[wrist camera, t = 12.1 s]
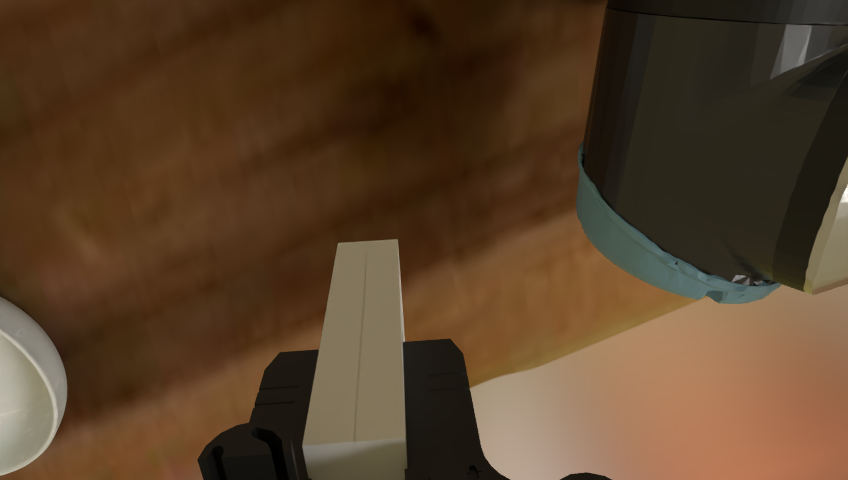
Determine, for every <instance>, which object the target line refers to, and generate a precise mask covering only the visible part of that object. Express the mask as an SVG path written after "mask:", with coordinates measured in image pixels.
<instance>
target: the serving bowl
mask: <svg viewBox="0 0 848 480" xmlns="http://www.w3.org/2000/svg"><path fill="white" fill-rule="evenodd" d="M66 400H67V379H66V374H65V369H64V366H63V363H62V360H61V358H60V355H59V353H58V351H57V349H56V347H55V346H54V344H53V343H52V341H51V339H50V338H49V337H48V335H47V334H46V333H45V331H44V330H43V329H42V328H41V327H40V326H39V325H38V324H37V323H36V322H35V321H34V320H33V319H32V318H31V317H30V316H29V315H27V314H26V313H25V312H24V311H23V310H21V309H20V308H18V307H17V306H16V305H14V304H12V303H11V302H9V301H7V300H6V299H4V298H2V297H0V476H1V475H4V474H7V473H10V472H13V471H16V470H18V469H20V468H22V467H24V466H26V465H27V464H29V463H31V462H32V461H34V460H35V459H36V458H37V457H39V456H40V455H41V454H42V453H43V452H44V451H45V450H46V448H47V447H48V446H49V444H50V443H51V441H52V440H53V438H54V436H55V434H56V432H57V429H58V427H59V425H60V423H61V420H62V417H63V414H64V411H65V406H66Z"/></svg>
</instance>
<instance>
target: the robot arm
mask: <svg viewBox="0 0 848 480" xmlns="http://www.w3.org/2000/svg"><path fill="white" fill-rule="evenodd" d="M578 166H579V171H580V173H579V181H578V190H577V198H576V210H577V216H578V219H579V220H580V222H581V224H582V228H583V230H584V232H585V234H586V236H587V238H588V239H589V240H590V242H591V243H592V244H593V245H594V246H595V247H596V248H597V249H598V250H599V252H601V253H602V254H603V255H604V256H605V257H606V258H607V259H609V260H610V261H611V262H612V263H614V264H615V265H617V266H618V267H620V268H621V269H623V270H624V271H626V272H627V273H629V274H631V275H633V276H634V277H636V278H638V279H640V280H642V281H644V282H646V283H648V284H650V285H653V286H655V287H658V288H660V289H663V290H665V291H668V292H671V293H674V294H677V295H680V296H684V297H688V298H692V299H696V300H699V299H701V298H703V297H704V296H705V295H706V296H708V297H710V298H712V299H713V300H714V301H716V302H718V303H723V304H742V303H749V302H753V301H756V300H760V299H763V298H764V297H766V296H768V295H769V294H770V293H771V292H772V291H774V290H775V289H777V288H779V287H780V286H781V285H782V284H783V285H786V286H789V287H791V288H794V289H797V290H800V291H803V292H806V293H809V294H812V295H816V294H819V293H822V292H825V291H829V290H832V289H835V288H837V287H841V286H844V285H847V284H848V0H608V2H607V7H606V8H605V14H604V20H603V26H602V32H601V38H600V44H599V50H598V56H597V62H596V68H595V74H594V80H593V86H592V92H591V98H590V104H589V110H588V116H587V122H586V128H585V134H584V140H583V142H582V143H581V144H580V146H579V152H578ZM198 463H199V466H200V470H201V473H202V476H203V479H204V480H510V479H508V478H506V477H505V476H503V475H501V474H499V473H498V472H497V471H496V470H495V469H494V468H493V467H492V466H491V465H490V464H489V462H488V461H487V460H486V458H485V457H484V454H483V451H482V448H481V444H480V439H479V433H478V428H477V423H476V418H475V413H474V408H473V402H472V397H471V392H470V388H469V382H468V377H467V371H466V366H465V361H464V356H463V353H462V352H461V351H460V350H459V348H458V347H457V346H456V345H455V344H454V343H453V341H452V340H451V339H439V340H425V341H411V342H405V338H404V320H403V306H402V292H401V278H400V264H399V250H398V239H393V240H378V241H362V242H347V243H338V246H337V252H336V257H335V263H334V269H333V274H332V280H331V286H330V291H329V297H328V303H327V308H326V314H325V320H324V325H323V331H322V337H321V342H320V348H319V350H306V351H292V352H280V353H279V354H278V355H277V356H276V358H275V359H274V360H273V361H272V362H271V363H270V364H269V366H268V367H267V368H266V369H265V371H264V375H263V378H262V381H261V385H260V388H259V392H258V394H257V398H256V401H255V408H253V411H252V414H251V418H250V421H249V423H246V424H241V425H237V426H235V427H233V428H231V429H228V430H226V431H224V432H222V433H220V434H219V435H218V436H217V437H216V438H214V439H213V440H212V441H211V442H210V443H209V444H207V445H206V447H205V448H204V450H203V452H202V453H201V455H200V456H199V458H198ZM560 480H611V479H609V478H607V477H606V476H601V475H597V474H592V473H578V474H570V475H568V476H566V477H564V478H562V479H560Z"/></svg>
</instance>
